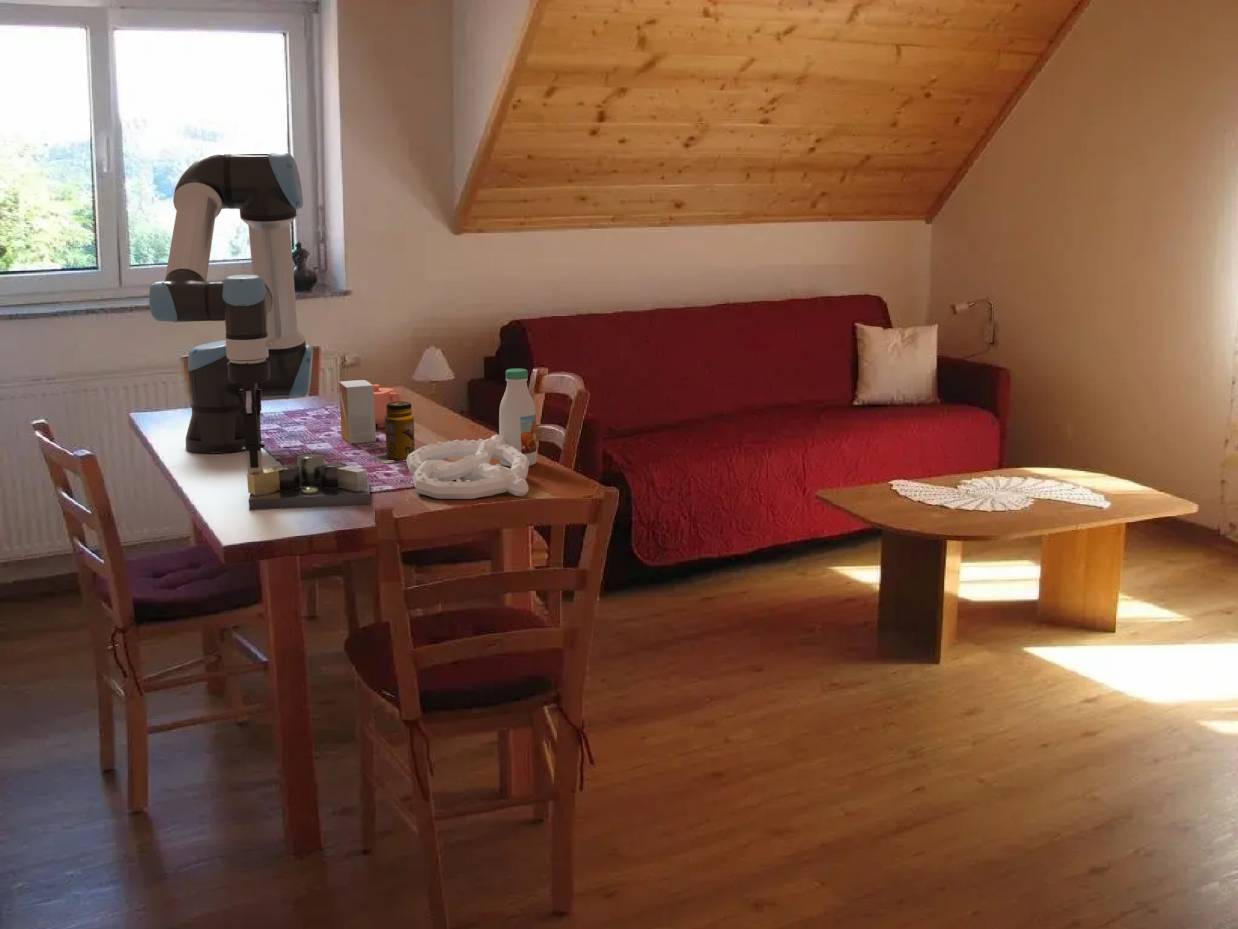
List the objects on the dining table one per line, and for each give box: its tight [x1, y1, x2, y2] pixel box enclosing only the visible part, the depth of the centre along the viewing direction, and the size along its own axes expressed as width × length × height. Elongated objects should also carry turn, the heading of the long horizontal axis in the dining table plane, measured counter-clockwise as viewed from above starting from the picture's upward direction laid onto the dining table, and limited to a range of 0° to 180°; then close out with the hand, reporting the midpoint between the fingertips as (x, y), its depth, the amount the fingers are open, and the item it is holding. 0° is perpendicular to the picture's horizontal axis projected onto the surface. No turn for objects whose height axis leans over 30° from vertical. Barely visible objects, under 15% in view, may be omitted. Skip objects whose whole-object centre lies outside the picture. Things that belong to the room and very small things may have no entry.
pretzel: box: [405, 434, 530, 500], centre depth 277 cm, size 28×24×6 cm
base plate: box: [248, 453, 371, 511], centre depth 267 cm, size 15×22×7 cm
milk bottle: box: [498, 368, 538, 468], centre depth 293 cm, size 8×8×20 cm
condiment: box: [371, 401, 416, 465], centre depth 299 cm, size 7×8×12 cm
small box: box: [338, 379, 377, 445], centre depth 317 cm, size 8×6×13 cm
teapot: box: [372, 383, 404, 429], centre depth 334 cm, size 12×12×10 cm
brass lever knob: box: [246, 464, 300, 495], centre depth 264 cm, size 5×10×4 cm, turn 135°
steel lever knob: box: [320, 462, 368, 491], centre depth 266 cm, size 5×10×4 cm, turn 55°
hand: (255, 483), depth 265 cm, fingers closed
